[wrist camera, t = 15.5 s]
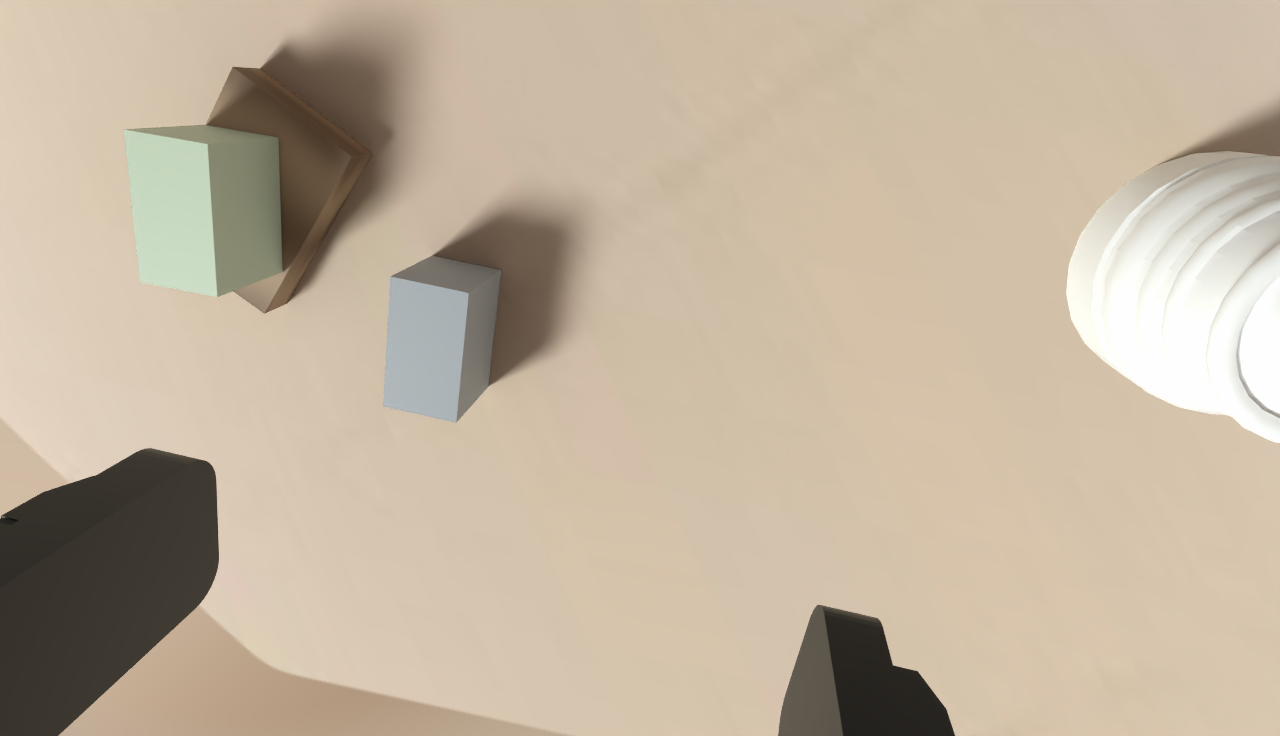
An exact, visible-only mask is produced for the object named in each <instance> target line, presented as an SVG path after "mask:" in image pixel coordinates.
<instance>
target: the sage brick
mask: <svg viewBox="0 0 1280 736" xmlns="http://www.w3.org/2000/svg"><path fill="white" fill-rule="evenodd" d="M124 135H125V145H126V154H127V164H128V174H129V183H130V193H131V203H132V212H133V222H134V232H135V241H136V251H137V261H138V271H139V280H140V282H141V283H146V284H151V285H157V286H162V287H167V288H173V289H178V290H183V291H188V292H194V293H199V294H204V295H209V296H215V297H219V296H221V295H224V294H227V293H229V292H232V291H234V290H237V289H240V288H242V287H245V286H247V285H250V284H253V283H255V282H258V281H261V280H263V279H266V278H268V277H271V276H274V275H276V274H279V273H282V272H283V271H282V237H281V204H280V171H279V138H278V137H273V136H267V135H261V134H255V133H249V132H243V131H238V130H232V129H226V128H220V127H214V126H209V125H195V126H178V127H160V128H142V129H124Z"/></svg>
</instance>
